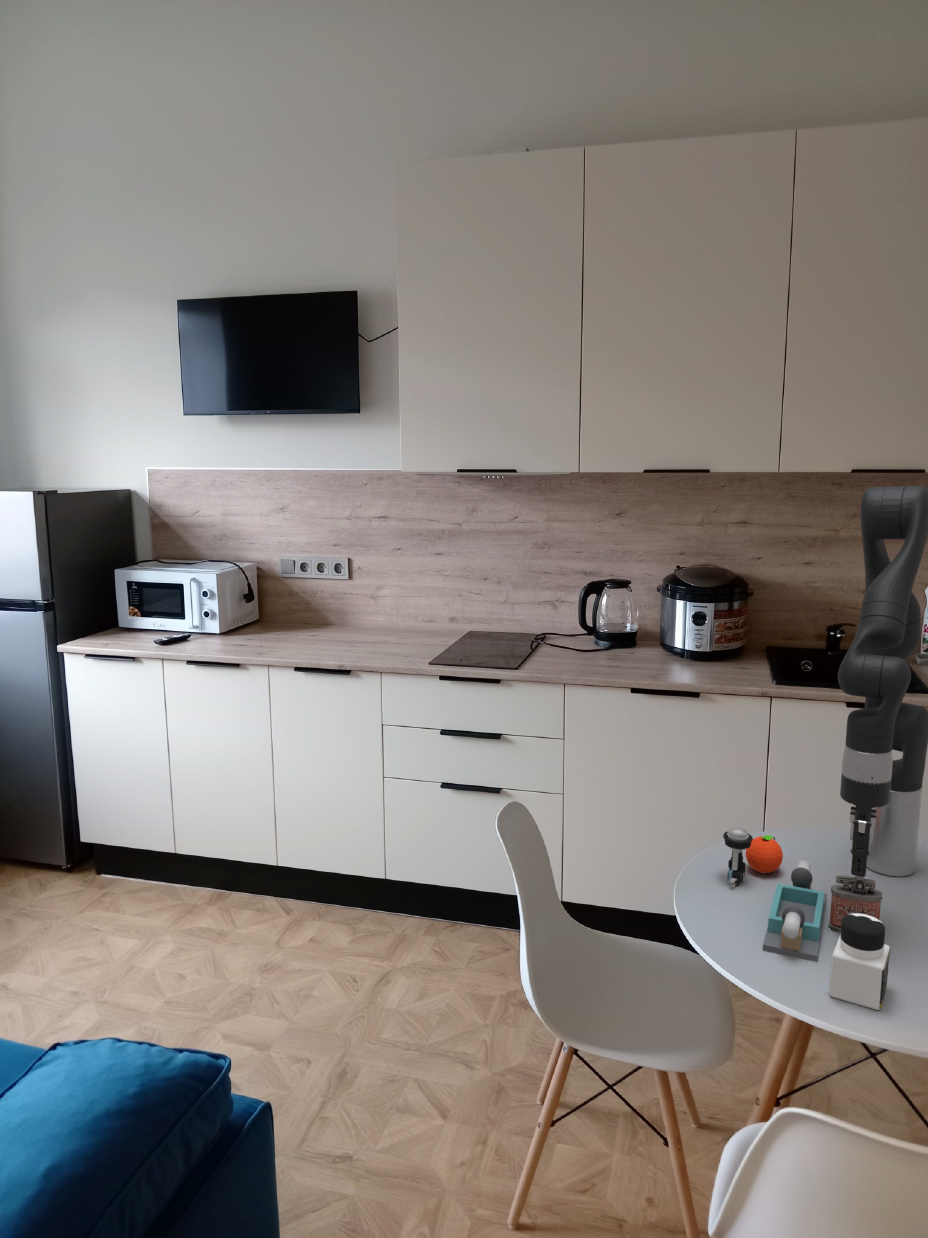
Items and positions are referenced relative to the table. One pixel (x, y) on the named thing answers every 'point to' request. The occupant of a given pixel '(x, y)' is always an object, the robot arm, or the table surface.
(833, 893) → the lighter
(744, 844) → the push button
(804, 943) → the shaft cradle
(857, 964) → the medicine bottle
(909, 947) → the table surface
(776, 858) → the clementine
